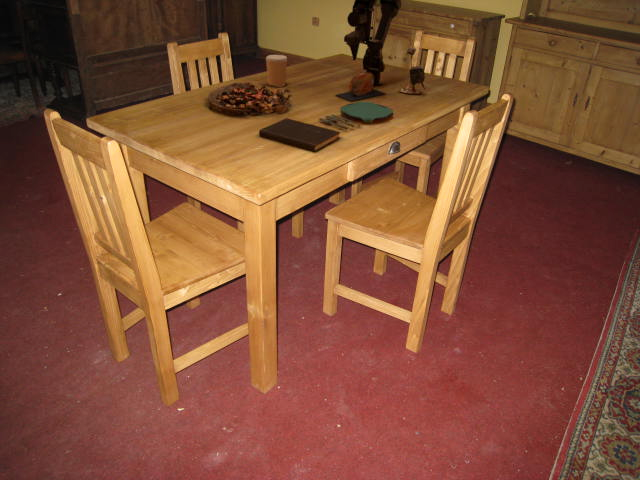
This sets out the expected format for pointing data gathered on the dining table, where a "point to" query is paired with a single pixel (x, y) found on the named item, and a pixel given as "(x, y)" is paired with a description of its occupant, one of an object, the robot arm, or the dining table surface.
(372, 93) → the placemat
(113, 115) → the dining table surface
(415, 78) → the plant with pod
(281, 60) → the glass of beer
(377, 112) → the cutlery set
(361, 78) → the tin
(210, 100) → the food dish
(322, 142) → the hardcover book
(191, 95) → the dining table surface
